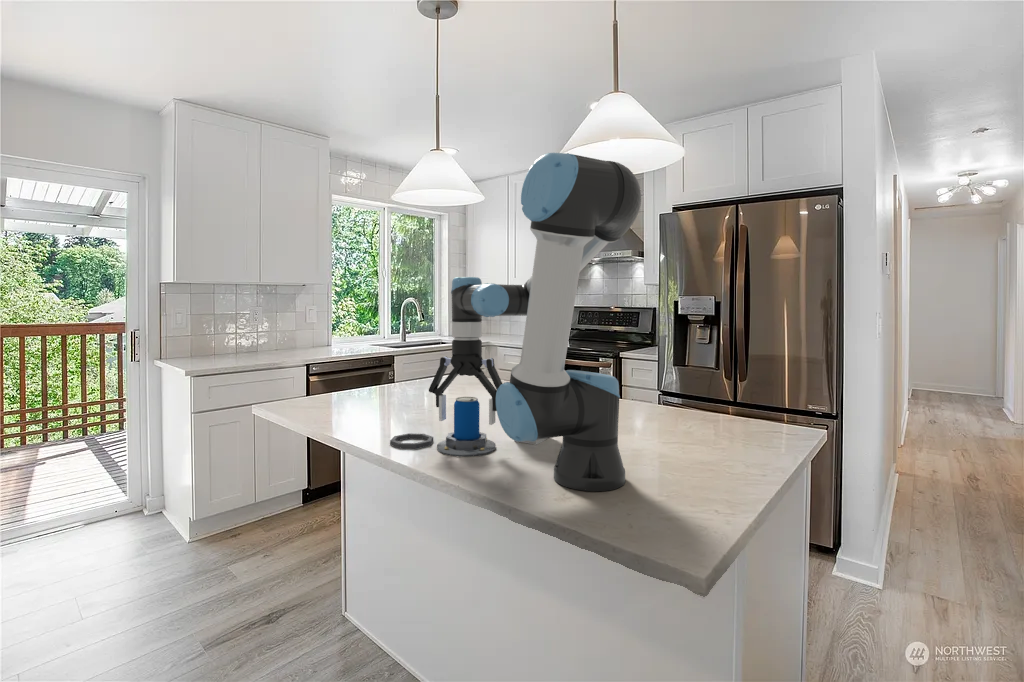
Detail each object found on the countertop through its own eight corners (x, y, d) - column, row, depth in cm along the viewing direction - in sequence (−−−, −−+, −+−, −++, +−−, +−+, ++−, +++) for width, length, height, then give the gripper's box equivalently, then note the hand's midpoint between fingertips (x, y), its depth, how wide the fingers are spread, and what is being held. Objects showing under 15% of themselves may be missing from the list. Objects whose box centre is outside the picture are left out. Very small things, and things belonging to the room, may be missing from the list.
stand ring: (440, 443, 141) (440, 439, 141) (405, 451, 134) (405, 446, 134) (418, 435, 149) (418, 431, 149) (384, 442, 141) (384, 438, 141)
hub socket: (507, 448, 137) (507, 436, 137) (461, 460, 127) (461, 447, 126) (471, 437, 148) (471, 425, 147) (425, 447, 138) (425, 434, 137)
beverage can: (482, 447, 135) (482, 400, 134) (457, 449, 133) (457, 401, 132) (475, 440, 141) (475, 395, 140) (451, 442, 139) (451, 397, 138)
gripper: (518, 338, 135) (518, 421, 136) (428, 336, 142) (429, 415, 144) (509, 340, 128) (509, 428, 129) (415, 338, 135) (416, 421, 136)
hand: (467, 421), depth 136 cm, fingers open, 13 cm apart
